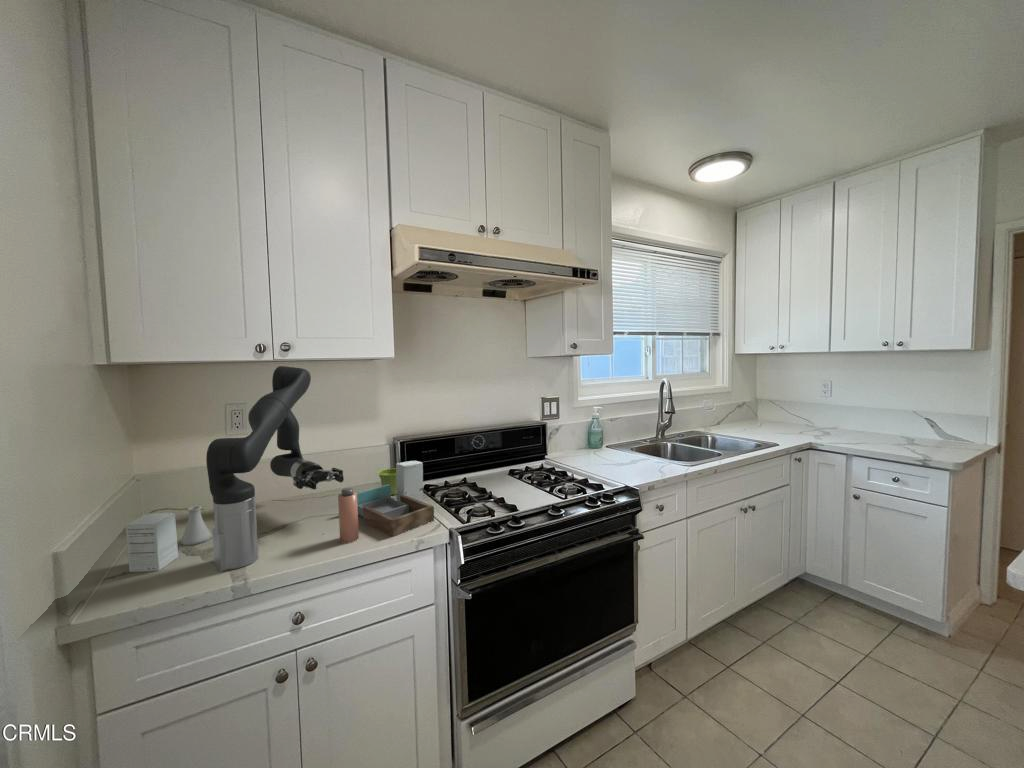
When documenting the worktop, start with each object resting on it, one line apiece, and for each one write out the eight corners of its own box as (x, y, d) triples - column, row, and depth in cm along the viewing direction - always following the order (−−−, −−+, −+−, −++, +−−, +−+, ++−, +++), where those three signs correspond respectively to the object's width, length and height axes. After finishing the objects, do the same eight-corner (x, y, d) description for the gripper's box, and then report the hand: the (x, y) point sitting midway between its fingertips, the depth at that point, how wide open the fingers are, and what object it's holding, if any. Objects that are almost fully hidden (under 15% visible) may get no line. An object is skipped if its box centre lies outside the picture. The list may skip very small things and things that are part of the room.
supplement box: (150, 558, 114) (147, 513, 113) (179, 557, 115) (176, 512, 114) (127, 572, 107) (123, 524, 106) (158, 571, 107) (154, 523, 106)
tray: (372, 526, 133) (371, 506, 133) (348, 514, 143) (347, 495, 143) (414, 511, 145) (413, 493, 145) (389, 501, 155) (389, 484, 155)
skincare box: (403, 507, 150) (402, 466, 149) (395, 502, 155) (394, 463, 154) (424, 501, 156) (423, 462, 155) (416, 497, 160) (415, 459, 159)
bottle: (345, 544, 121) (343, 494, 120) (336, 539, 125) (334, 490, 124) (362, 538, 125) (360, 489, 124) (353, 533, 129) (351, 485, 127)
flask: (195, 547, 121) (193, 513, 120) (174, 545, 122) (172, 511, 121) (217, 536, 128) (215, 504, 127) (197, 534, 129) (195, 502, 128)
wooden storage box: (393, 536, 126) (392, 520, 126) (363, 521, 138) (362, 506, 137) (434, 521, 138) (433, 506, 137) (403, 508, 149) (403, 494, 149)
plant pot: (373, 496, 162) (373, 474, 161) (386, 488, 171) (386, 467, 170) (395, 498, 160) (395, 475, 159) (407, 490, 169) (407, 468, 168)
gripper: (283, 466, 137) (305, 476, 126) (326, 457, 148) (349, 465, 137) (285, 488, 138) (306, 500, 127) (327, 477, 148) (350, 488, 138)
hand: (328, 482), depth 132 cm, fingers open, 8 cm apart
